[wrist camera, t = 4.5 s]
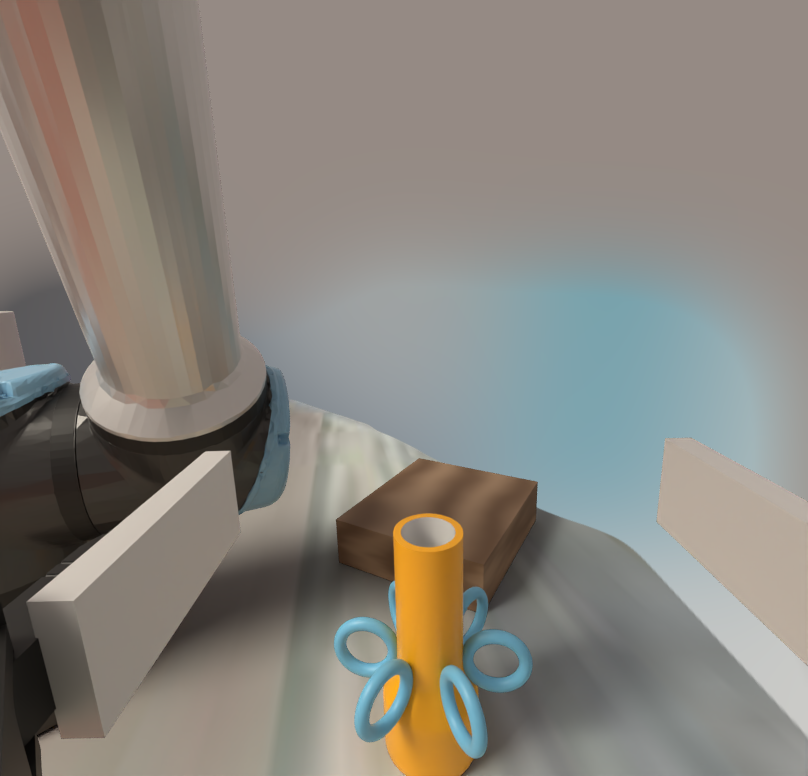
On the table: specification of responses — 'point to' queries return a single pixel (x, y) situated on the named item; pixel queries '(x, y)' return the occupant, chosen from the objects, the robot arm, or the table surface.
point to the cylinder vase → (10, 342)
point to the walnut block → (450, 496)
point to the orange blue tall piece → (430, 656)
